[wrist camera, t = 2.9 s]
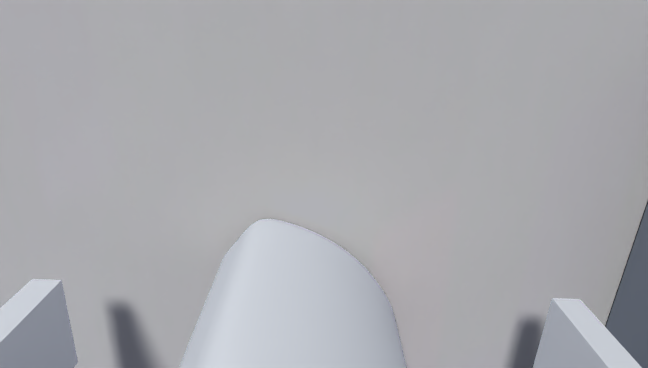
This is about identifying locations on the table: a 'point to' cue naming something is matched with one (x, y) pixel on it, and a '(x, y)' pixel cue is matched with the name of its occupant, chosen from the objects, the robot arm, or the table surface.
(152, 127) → the table surface
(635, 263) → the tray
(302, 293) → the eye dropper bottle
